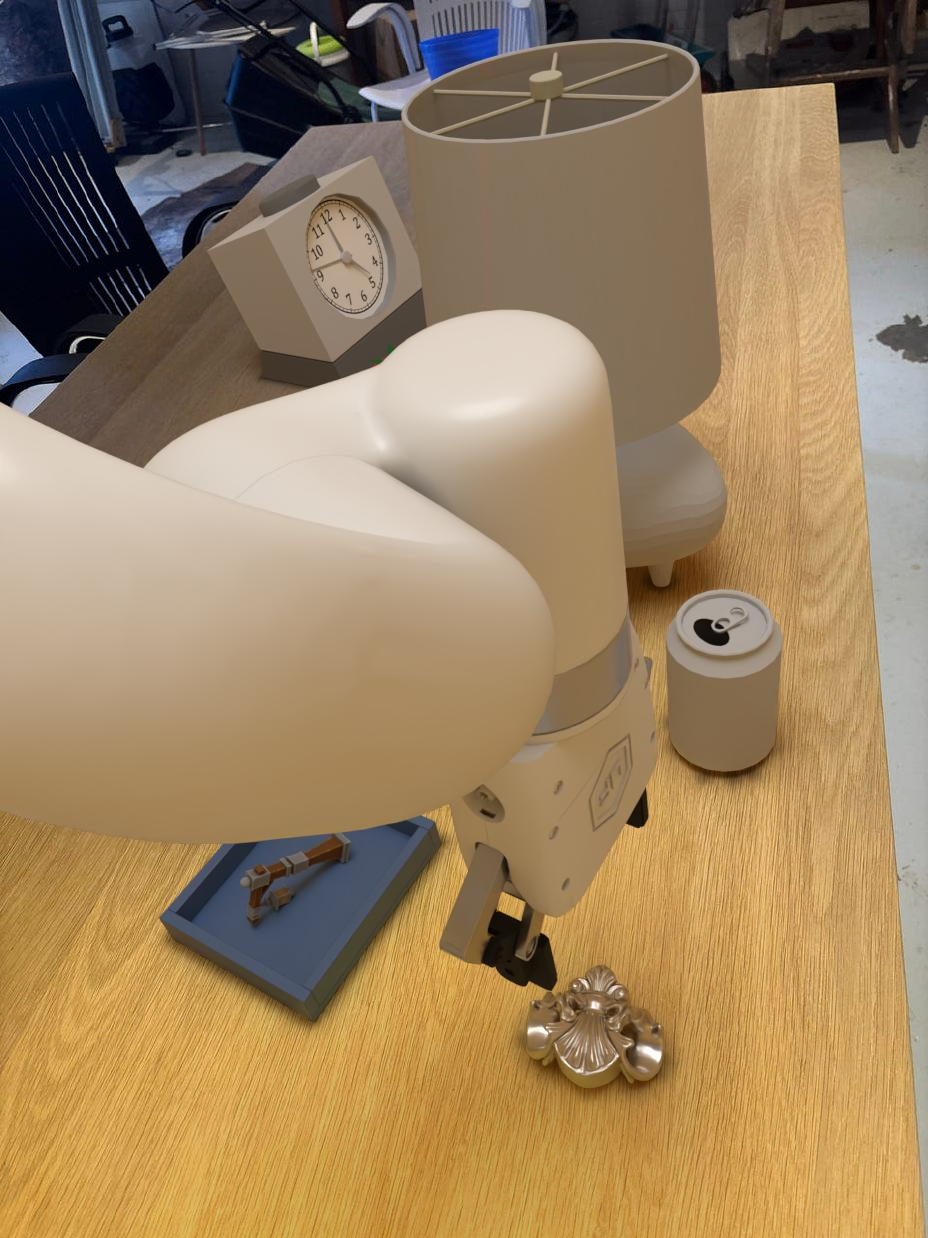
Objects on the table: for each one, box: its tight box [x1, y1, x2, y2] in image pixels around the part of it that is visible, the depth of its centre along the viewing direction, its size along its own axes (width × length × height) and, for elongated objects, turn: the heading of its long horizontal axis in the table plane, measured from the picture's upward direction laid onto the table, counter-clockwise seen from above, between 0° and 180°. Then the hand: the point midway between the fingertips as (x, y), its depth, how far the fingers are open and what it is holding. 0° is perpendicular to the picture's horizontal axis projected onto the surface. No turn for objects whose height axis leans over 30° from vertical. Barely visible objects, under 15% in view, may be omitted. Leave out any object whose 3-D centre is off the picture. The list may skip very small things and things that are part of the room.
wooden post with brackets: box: [240, 833, 350, 924], centre depth 69 cm, size 2×8×4 cm, turn 133°
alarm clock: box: [206, 154, 427, 388], centre depth 123 cm, size 20×16×20 cm
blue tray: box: [158, 815, 442, 1023], centre depth 70 cm, size 15×13×3 cm
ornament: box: [524, 964, 666, 1089], centre depth 59 cm, size 8×7×4 cm
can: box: [665, 588, 784, 773], centre depth 70 cm, size 8×8×12 cm
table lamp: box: [400, 38, 728, 588], centre depth 77 cm, size 23×22×40 cm
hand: (574, 889), depth 50 cm, fingers open, 9 cm apart
